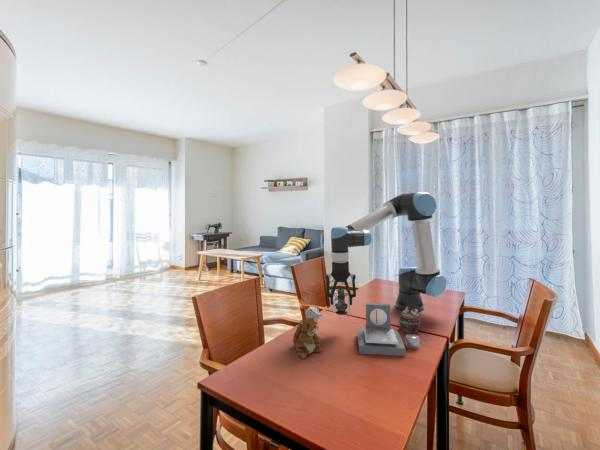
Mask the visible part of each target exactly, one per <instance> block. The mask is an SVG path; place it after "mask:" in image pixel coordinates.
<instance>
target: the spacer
mask: <svg viewBox="0 0 600 450" xmlns="http://www.w3.org/2000/svg"><path fill="white" fill-rule="evenodd" d="M405 348H407V349H410V350H411V349H412V350H417V349H420V336H419V335H417V334H415V333H409V334H406V335H405Z"/></svg>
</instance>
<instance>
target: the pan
mask: <svg viewBox="0 0 600 450" xmlns="http://www.w3.org/2000/svg"><path fill="white" fill-rule="evenodd" d="M363 329H364V334H365V341H366V343H382V344H398V340H397V338H396V335H395V333H394V331H395V330H394V329H392V328H391V329H378V328H366V327H363Z"/></svg>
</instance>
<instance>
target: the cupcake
mask: <svg viewBox="0 0 600 450" xmlns="http://www.w3.org/2000/svg"><path fill="white" fill-rule="evenodd" d="M405 309H406V310H402V312H400V315H399V317H398V322H399V327H400V330H401V331H402V332H404V333H409V334H415V333H418V332H419V330H420V325H421V321H422V319H421V317H420V315H421V314H419V311H418V310H417V308H410V307H406V308H405Z"/></svg>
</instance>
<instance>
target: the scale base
mask: <svg viewBox="0 0 600 450" xmlns="http://www.w3.org/2000/svg"><path fill="white" fill-rule="evenodd" d="M391 310H392V309H391V304H390V303H383V302H382V303H379V302H365V328H378V329H392V328H391V324H392V323H391V319H392V317H391V315H392V314H391ZM394 333H395V335H396V338H397V340H398V344H382V343H366V341H365V334H364V328H363V329H360V328H358V329H357V343H358V351H359V352H358V353H359V354H363V355H364V354H365V355H366V354H367V355H381V356H395V357H397V356H398V357H406V346H405V344H404V342H403V340H402V337H401V335H400V333H399V331H398V330H397V331H396V330H394Z"/></svg>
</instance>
